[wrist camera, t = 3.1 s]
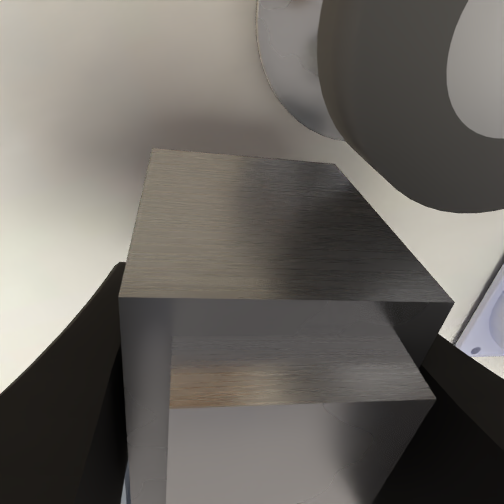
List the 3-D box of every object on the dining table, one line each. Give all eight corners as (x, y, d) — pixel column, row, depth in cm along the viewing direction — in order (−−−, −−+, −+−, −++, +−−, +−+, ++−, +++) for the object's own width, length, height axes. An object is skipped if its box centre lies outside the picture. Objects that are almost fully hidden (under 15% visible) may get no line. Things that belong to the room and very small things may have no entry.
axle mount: (535, -114, 10) (611, -137, 8) (432, 146, 14) (469, 169, 12) (279, -181, 9) (303, -226, 7) (241, 127, 13) (250, 150, 11)
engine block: (334, 163, 9) (507, 362, 4) (287, 343, 12) (354, 575, 7) (152, 148, 8) (101, 369, 3) (152, 344, 12) (126, 604, 7)
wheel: (689, -140, 7) (858, -185, 5) (515, 182, 10) (583, 221, 8) (369, -239, 6) (449, -340, 4) (289, 163, 9) (314, 204, 7)
